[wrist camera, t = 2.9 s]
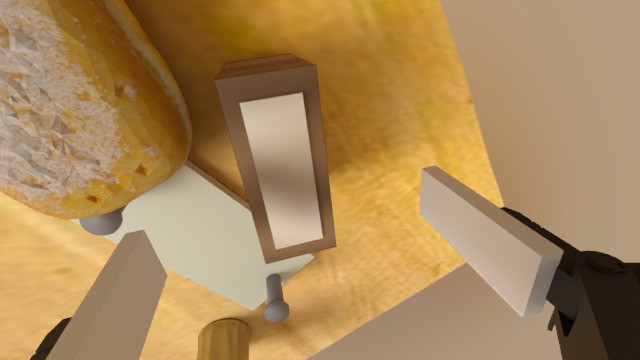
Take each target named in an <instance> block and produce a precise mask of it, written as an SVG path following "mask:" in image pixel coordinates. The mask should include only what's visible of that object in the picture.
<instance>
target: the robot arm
mask: <svg viewBox="0 0 640 360" xmlns="http://www.w3.org/2000/svg"><path fill="white" fill-rule="evenodd" d="M419 214H420V215H421V216H422V217H423V218H424V219H425V220H426V221H427V222H428V223H429V224H430V225H431V226H432V227H433V228H434V229H435V230H436V231H437V232H438V233H439V234H440V235H441V236H442V237H443V238H444V239H445V240H446V241H447V242H448V243H449V244H450V245H451V246H452V247H453V249H454V250H455V251H456V252H457V253H458V254H459V255H460V256H461V257H462V258H463V259H464V260H465V261H466V262H467V263H468V264H469V265H471V267H472V268H473V269H474V270H475V271H476V272H477V273H478V274H479V275H480V276H481V277H482V278H483V279H484V280H485V281H486V282H487V283H488V284H489V285H490V286H491V287H492V288H493V289H494V290H495V291H497V293H498V294H499V295H500V296H501V297H502V298H503V299H504V300H505V301H506V302H507V303H508V304H509V305H510V306H511V307H512V308H513V309H514V310H515V311H516V312H517V313H518V314H519V315H520V316H521V317H522V318H524V317H527V316H530V315H533V314H537V313H540V312H542V309H543V307H544V304H545V301H546V299H547V300H548V301H549V302H550V303H551V304H552V305H554V306H555V308H554V311H553V314H552V316H551V319H550V321H549V324H548V330H550V331H552V329H553V326H554V325H555V326H556V330H557V335H558V340H559V344H560V349H561V354H562V359H563V360H640V263H623V262H622V261H621V260H619V259H617V258H615V257H612V256H610V255H608V254H604V253H601V252H597V251H582V252H581V251H579V250H578V249H576V248H574V247H573V246H571V245H570V244H568V243H566V242H565V241H563V240H562V239H560V238H559V237H557V236H555V235H554V234H552V233H550V232H549V231H547V230H546V229H544V228H541V226H540V225H538V224H536V223H535V222H531V220H530V219H529V218H527V217H525V216H523V215H522V214H521V213H519V212H516V211H513V210H511V209H508V208H506V207H502V208H499V207H497V206H496V205H494V204H493V203H491V202H490V201H488V200H487V199H485V198H484V197H482V196H481V195H479V194H478V193H476V192H475V191H473V190H472V189H470V188H469V187H467V186H466V185H464V184H463V183H461V182H460V181H458V180H457V179H455V178H454V177H452V176H451V175H449V174H448V173H446V172H445V171H443V170H442V169H440V168H438V167H437V166H431V167H427V168H422V173H421V192H420V211H419ZM166 278H167V274H166V272H165V270H164V268H163V266H162V264H161V262H160V260H159V258H158V256H157V254H156V252H155V250H154V248H153V246H152V244H151V242H150V240H149V238H148V236H147V234H146V232H145V230H139V231H135V232H130V233H125V235H124V236H123V238H122V239H121V241H120V243H119V244H118V246H117V247H116V249H115V251H114V252H113V254H112V255H111V257H110V258H109V260H108V262H107V263H106V265H105V266H104V268H103V269H102V271H101V273H100V274H99V276H98V277H97V279H96V281H95V282H94V284H93V285H92V287H91V288H90V290H89V292H88V293H87V295H86V296H85V298H84V300H83V301H82V303H81V304H80V306H79V307H78V309H77V311H76V312H75V314H74V315H73V317H70V318H66V319H63V320H62V321H61V322H60V323H59V324H58V325H57V326H56V327H55V328H54V329H52V330H51V331H50V332H49V333H48V334H47V335H46V337H45V338H44V340H43V341H42V343H41V344H40V346H39V347H38V349H37V350H36V351H35V352H36V354H35V355H33V356H32V357H31V359H30V360H139V358H140V355H141V352H142V349H143V346H144V343H145V340H146V337H147V334H148V331H149V328H150V325H151V322H152V319H153V316H154V314H155V311H156V308H157V305H158V302H159V299H160V296H161V293H162V290H163V287H164V284H165V281H166Z"/></svg>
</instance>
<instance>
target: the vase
mask: <svg viewBox="0 0 640 360" xmlns="http://www.w3.org/2000/svg"><path fill="white" fill-rule="evenodd" d="M249 340H250V329H249V327H248V326H247V325H246V324H245V323H243V322H241V321H239V320H234V319H223V320H219V321H215V322H213V323H211V324H209V325H208V326H206V327H205V328H204V329H203V330H202V331H201V333H200V335H199V338H198V341H199V342H198V355H197V360H249Z"/></svg>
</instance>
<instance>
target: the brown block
mask: <svg viewBox="0 0 640 360" xmlns="http://www.w3.org/2000/svg"><path fill="white" fill-rule="evenodd" d="M214 81H215V85H216V88H217V92H218V95H219V99H220V103H221V106H222V110H223V113H224V117H225V120H226V124H227V128H228V131H229V135H230V138H231V142H232V145H233V149H234V153H235V156H236V160H237V163H238V167H239V171H240V174H241V178H242V181H243V185H244V188H245V192H246V196H247V199H248V203H249V206H250V210H251V213H252V217H253V221H254V224H255V228H256V231H257V235H258V238H259V242H260V246H261V249H262V253H263V256H264V260H265V263H266V264H270V263H274V262H278V261H281V260H285V259H289V258H293V257H297V256H301V255H305V254H309V253H313V252H317V251H321V250H325V249H329V248H333V247H337V246H336V238H335V229H334V220H333V211H332V203H331V194H330V185H329V176H328V167H327V159H326V150H325V141H324V132H323V123H322V115H321V106H320V97H319V88H318V79H317V71H316V65H315V64H312V63H310V62H308V61H305V60H303V59H301V58H298V57H296V56H293V55H291V54H284V55H277V56H270V57H263V58H256V59H250V60H243V61H236V62H229V63H226V64H225V66H224V67H223V69H222V70H221V71H220V73H219V74H218V76H217V77H216V79H215V80H214Z"/></svg>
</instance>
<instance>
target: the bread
mask: <svg viewBox="0 0 640 360" xmlns="http://www.w3.org/2000/svg"><path fill="white" fill-rule="evenodd" d="M192 139H193V126H192V119H191V116H190V112H189V109H188V105H187V103H186V100H185V98H184V96H183V93H182V91H181V89H180V87H179V86H178V84H177V82H176V80H175V78H174V76H173V74H172V72H171V70H170V68H169V66H168V65H167V64H166V62H165V61H164V59H163V58H162V56H161V55H160V54H159V52H158V51H157V49H156V48H155V47H154V45H153V44H152V42H151V41H150V40H149V38H148V37H147V35H146V34H145V32H144V31H143V29H142V27H141V25H140V23H139V21H138V20H137V19H136V18H135V17H134V15H133V14H132V12H131V10H130V8H129V6H128V5H127V4H126V2H125V1H124V0H0V191H2V192H3V193H5V194H7V195H8V196H10V197H12V198H14V199H15V200H17V201H19V202H21V203H23V204H25V205H27V206H28V207H30V208H32V209H34V210H36V211H39V212H42V213H44V214H47V215H50V216H54V217H58V218H62V219H66V220H69V219H84V218H88V217H92V216H99V215H104V214H107V213H110V212H112V211H115V210H117V209H119V208H121V207H123V206H125V205H127V204H128V203H130V202H131V201H133V200H134V199H136V198H138V197H139V196H141V195H142V194H144V193H146V192H147V191H149V190H151V189H152V188H154V187H156V186H157V185H159V184H160V183H162V182H164V181H166V180H168V179H169V178H170V177H171V176H172V175H173V174H174V173H175V172H176V171H177V170H179V169H180V168H182V167H183V165H184V163H185V162H186V160H187V157H188V155H189V152H190V149H191V145H192Z"/></svg>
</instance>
